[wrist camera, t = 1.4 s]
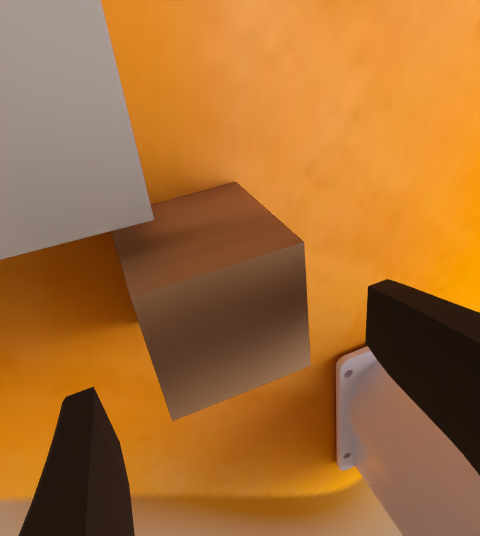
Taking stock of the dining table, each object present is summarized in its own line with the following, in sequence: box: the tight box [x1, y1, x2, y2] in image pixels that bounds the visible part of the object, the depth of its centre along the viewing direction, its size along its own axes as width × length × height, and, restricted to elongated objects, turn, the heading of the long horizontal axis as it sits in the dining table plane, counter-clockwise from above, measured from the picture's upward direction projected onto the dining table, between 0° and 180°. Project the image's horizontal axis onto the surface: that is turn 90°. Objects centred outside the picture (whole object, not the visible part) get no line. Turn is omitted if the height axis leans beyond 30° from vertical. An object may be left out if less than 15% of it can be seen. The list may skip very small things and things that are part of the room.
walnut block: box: [111, 182, 311, 421], centre depth 14 cm, size 4×4×5 cm
